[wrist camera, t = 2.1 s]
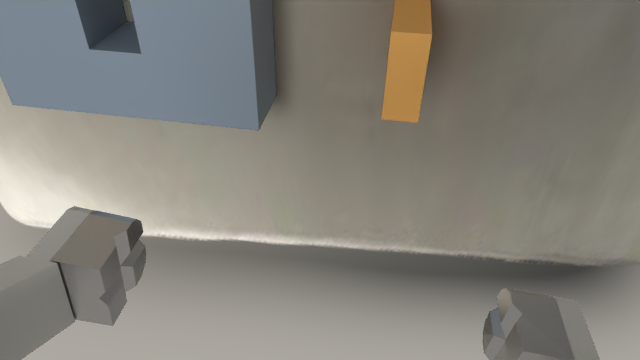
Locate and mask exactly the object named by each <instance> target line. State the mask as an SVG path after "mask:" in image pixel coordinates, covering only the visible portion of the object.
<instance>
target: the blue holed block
mask: <svg viewBox="0 0 640 360" xmlns="http://www.w3.org/2000/svg"><path fill="white" fill-rule="evenodd" d="M130 4H131V9H132V14H133V18H134V22H126V17H125V13H124V9H123V4H122V0H0V76H1V79H2V81H3V84H4V86H5V88H6V91H7V93H8V95H9V98H10V100H11V103H12V105H18V106H28V107H37V108H47V109H57V110H66V111H76V112H86V113H95V114H105V115H115V116H124V117H134V118H144V119H153V120H163V121H173V122H182V123H192V124H202V125H211V126H221V127H231V128H240V129H250V130H259V129H260V127H261V125H262V123H263V121H264V119H265V117H266V115H267V113H268V111H269V109H270V107H271V105H272V103H273V101H274V99H275V97H276V76H275V53H274V29H273V6H272V0H130Z"/></svg>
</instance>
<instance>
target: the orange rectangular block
mask: <svg viewBox="0 0 640 360" xmlns="http://www.w3.org/2000/svg"><path fill="white" fill-rule="evenodd" d="M431 39H432V20H431V1H430V0H395V5H394V12H393V20H392V28H391V37H390V46H389V55H388V64H387V74H386V83H385V92H384V101H383V110H382V119H383V120H393V121H404V122H414V123H418V119H419V113H420V107H421V101H422V95H423V88H424V82H425V76H426V70H427V64H428V58H429V52H430V46H431Z"/></svg>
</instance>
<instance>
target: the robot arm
mask: <svg viewBox="0 0 640 360" xmlns="http://www.w3.org/2000/svg"><path fill="white" fill-rule="evenodd" d="M142 233H143V228H142V223H141V221H139V220H137V219H133V218H129V217H124V216H119V215H114V214H110V213H105V212H100V211H94V210H89V209H84V208H80V207H75V206H74V207H72V208H70V209H68V210H66V212H65V213H64V214H63V215H62V216H61V217H60V218H59V220H58V221H57V222H56V223H55V224H54V225H53V226H52V228H51V229H50V230H49V231H48V232H47V233H46V235H45V236H44V237H43V238H42V239H41V240H40V242H39V243H38V244H37V245H36V246H35V247H34V249H32V251H31V252H30V253H29V254H28V255H27V256H26V257H24V256H18V257H16V258H13V259H11V260H9V261H7V262H4V263H2V264H0V360H21V359H23V358H24V357H26V356H27V355H28V354H30V353H31V352H33V351H34V350H36V349H37V348H38V347H40V346H41V345H43V344H44V343H45V342H47V341H48V340H50V339H51V338H52V337H54V336H55V335H57V334H58V333H60V332H61V331H63V330H64V329H65V328H67V327H68V326H70V325H71V324H72V323H74V322H75V320H81V321H87V322H93V323H99V324H105V325H111V326H113V325H114V323H115V321H116V320H117V318H118V316H119V315H120V313H121V311H122V309H123V308H124V306H125V304H126V302H127V299H126V293H125V292H126V291H128V290H130V289H132V288H133V287H135V286H136V285H137V283H138V281H139V280H140V278H141V276H142V273H143V270H144V267H145V263H146V249H145V245H144V244H143V243H142V242H141V241H140V240H139V238H140V236H141V235H142ZM497 304H498V308H496V309H494V310H492V311H490V312H489V314H488V317H487V318H486V320H485V324H484V329H483V349H484V354H485V355H486V356H487V357H488V359H489V360H600V359H599V356H598V353H597V351H596V348H595V345H594V342H593V340H592V337H591V335H590V332H589V329H588V326H587V324H586V321H585V318H584V316H583V313H582V310H581V307H580V305H579V304H578V302H577V301H575V300H571V299H565V298H560V297H554V296H548V295H543V294H538V293H532V292H526V291H521V290H515V289H509V288H504V289H503V290H501V291H500V293H499V295H498V297H497Z"/></svg>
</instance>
